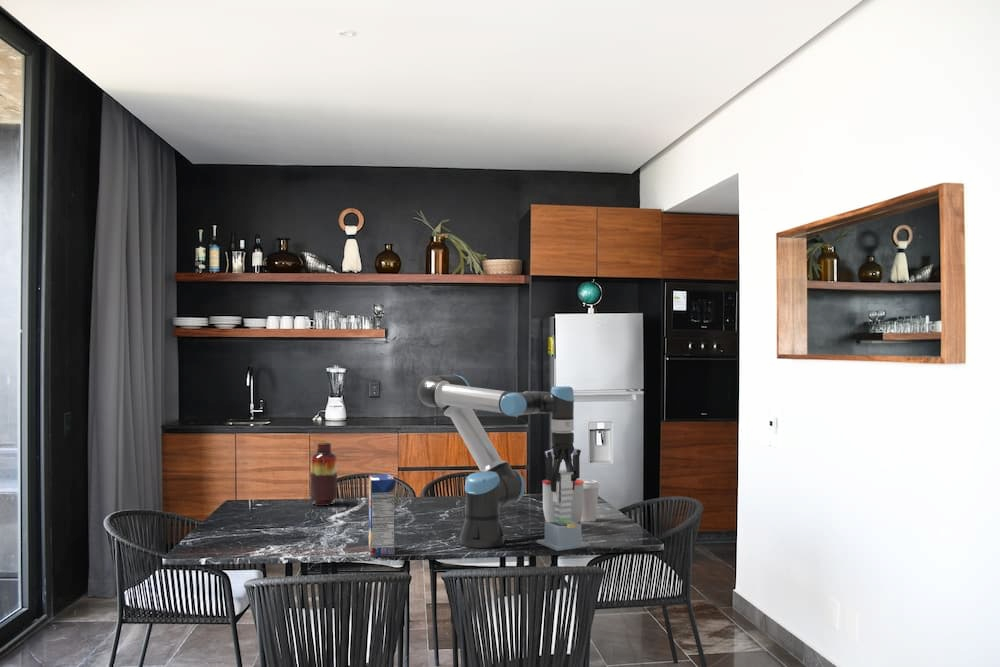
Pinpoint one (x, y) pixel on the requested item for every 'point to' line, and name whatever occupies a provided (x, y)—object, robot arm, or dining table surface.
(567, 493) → the column
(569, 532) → the stand base
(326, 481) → the vase
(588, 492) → the coffee cup
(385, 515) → the juice carton
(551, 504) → the citrus juicer
